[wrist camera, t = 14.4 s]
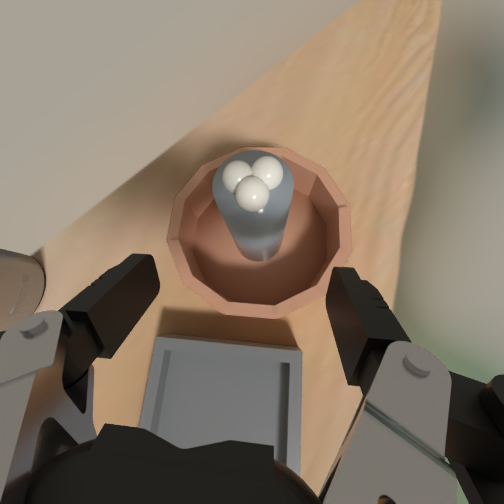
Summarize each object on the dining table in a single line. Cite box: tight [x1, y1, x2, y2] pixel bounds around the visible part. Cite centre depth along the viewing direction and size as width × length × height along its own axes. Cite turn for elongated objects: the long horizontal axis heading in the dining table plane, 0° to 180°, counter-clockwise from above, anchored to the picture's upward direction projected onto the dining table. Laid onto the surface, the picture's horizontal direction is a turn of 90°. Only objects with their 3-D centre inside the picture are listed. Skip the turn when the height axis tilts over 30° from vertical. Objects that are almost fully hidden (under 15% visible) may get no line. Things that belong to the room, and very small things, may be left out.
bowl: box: [167, 147, 352, 319], centre depth 21 cm, size 16×16×5 cm
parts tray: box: [139, 334, 302, 477], centre depth 18 cm, size 13×13×2 cm
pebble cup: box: [212, 150, 294, 262], centre depth 17 cm, size 5×5×11 cm
